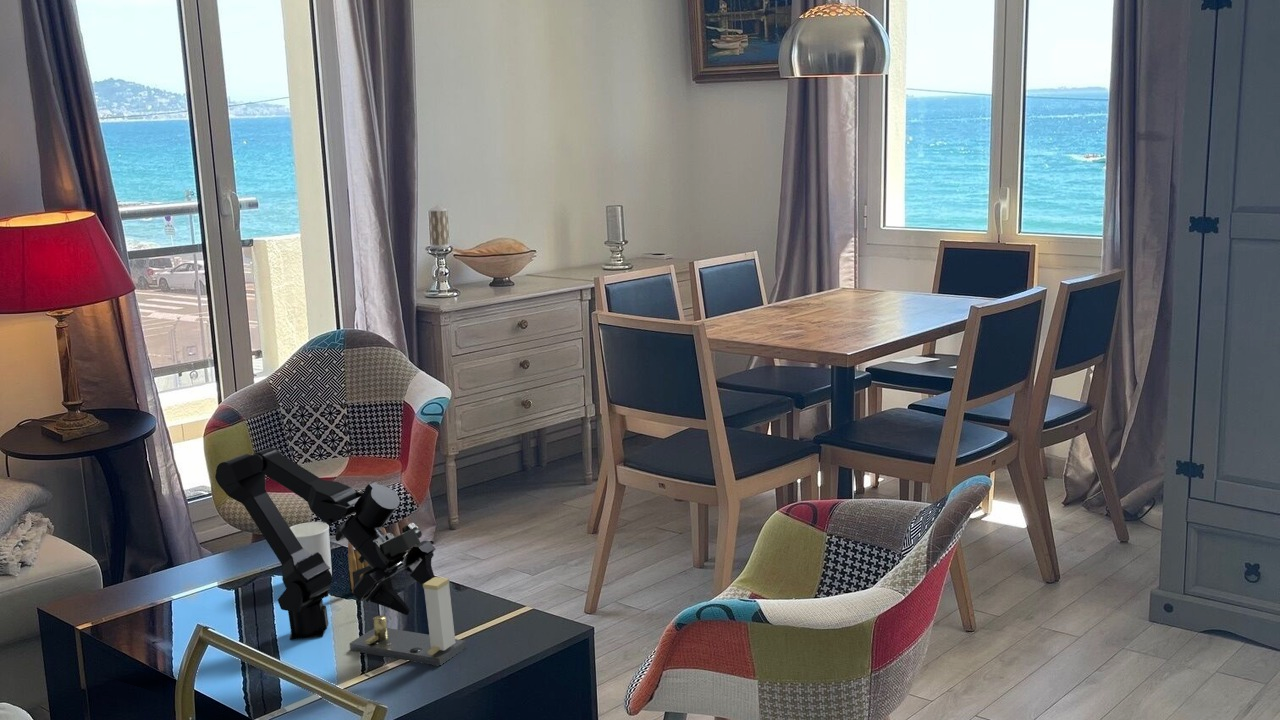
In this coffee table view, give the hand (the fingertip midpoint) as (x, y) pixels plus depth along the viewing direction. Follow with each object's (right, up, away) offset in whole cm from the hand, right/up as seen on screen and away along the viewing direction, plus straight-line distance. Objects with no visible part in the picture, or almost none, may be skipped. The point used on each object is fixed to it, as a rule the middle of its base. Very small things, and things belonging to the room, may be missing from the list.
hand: (424, 603), depth 220 cm
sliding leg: (+3, -8, -1) cm, 9 cm away
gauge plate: (-4, -9, +4) cm, 11 cm away
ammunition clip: (-18, -4, +38) cm, 42 cm away
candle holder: (-33, -4, +44) cm, 55 cm away
